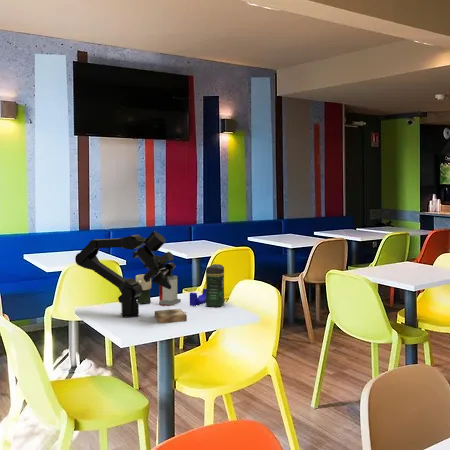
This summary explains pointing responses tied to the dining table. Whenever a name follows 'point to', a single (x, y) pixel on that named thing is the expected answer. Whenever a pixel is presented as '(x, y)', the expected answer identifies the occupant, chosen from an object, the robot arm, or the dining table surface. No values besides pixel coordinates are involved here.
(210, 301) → the coffee jar
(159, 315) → the light tan tray
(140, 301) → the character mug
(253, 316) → the dining table surface
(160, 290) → the canned food
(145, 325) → the dining table surface
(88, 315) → the dining table surface
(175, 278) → the steel housing
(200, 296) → the cable clip
